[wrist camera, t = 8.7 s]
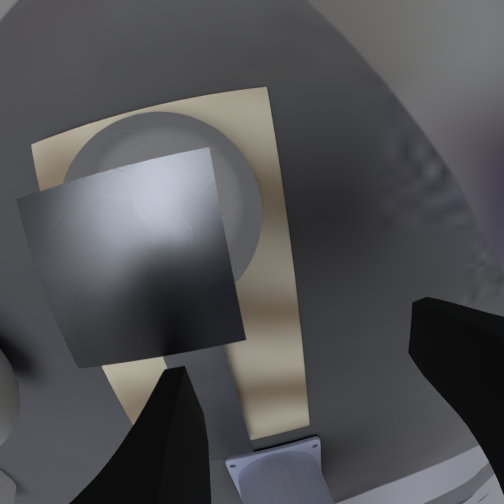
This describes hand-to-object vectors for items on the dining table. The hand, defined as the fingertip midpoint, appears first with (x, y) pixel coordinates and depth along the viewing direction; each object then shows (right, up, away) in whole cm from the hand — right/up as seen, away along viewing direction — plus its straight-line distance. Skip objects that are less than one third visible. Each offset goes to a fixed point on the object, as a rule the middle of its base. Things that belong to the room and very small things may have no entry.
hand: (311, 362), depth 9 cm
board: (-5, 0, +9) cm, 10 cm away
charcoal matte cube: (-6, +5, +4) cm, 8 cm away
